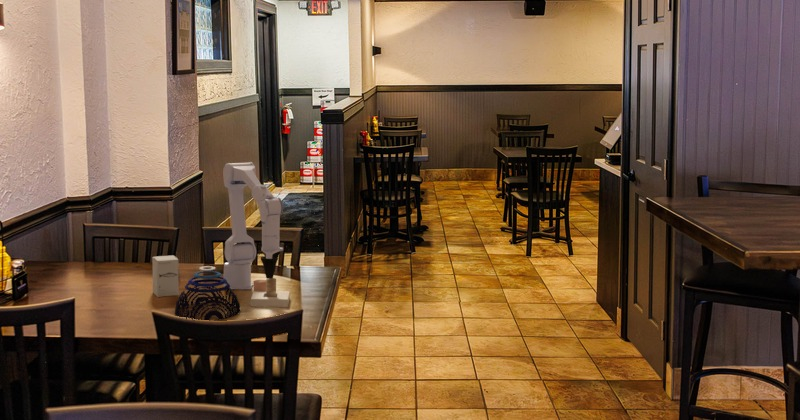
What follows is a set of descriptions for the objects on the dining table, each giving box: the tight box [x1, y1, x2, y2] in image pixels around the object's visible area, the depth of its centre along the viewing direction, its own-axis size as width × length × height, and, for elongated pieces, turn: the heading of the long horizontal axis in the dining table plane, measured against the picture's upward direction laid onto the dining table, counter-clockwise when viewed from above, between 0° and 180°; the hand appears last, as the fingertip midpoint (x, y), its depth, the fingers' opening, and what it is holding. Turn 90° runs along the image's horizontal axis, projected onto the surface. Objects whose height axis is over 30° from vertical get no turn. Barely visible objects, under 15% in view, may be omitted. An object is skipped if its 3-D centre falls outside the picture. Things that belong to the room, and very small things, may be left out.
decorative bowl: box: [174, 265, 241, 321], centre depth 273 cm, size 20×20×14 cm
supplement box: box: [151, 254, 180, 298], centre depth 292 cm, size 7×7×13 cm
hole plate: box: [250, 290, 291, 308], centre depth 287 cm, size 12×10×2 cm
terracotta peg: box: [252, 279, 266, 292], centre depth 294 cm, size 5×5×5 cm
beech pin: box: [265, 277, 277, 297], centre depth 286 cm, size 3×3×8 cm
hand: (270, 275), depth 285 cm, fingers open, 7 cm apart
